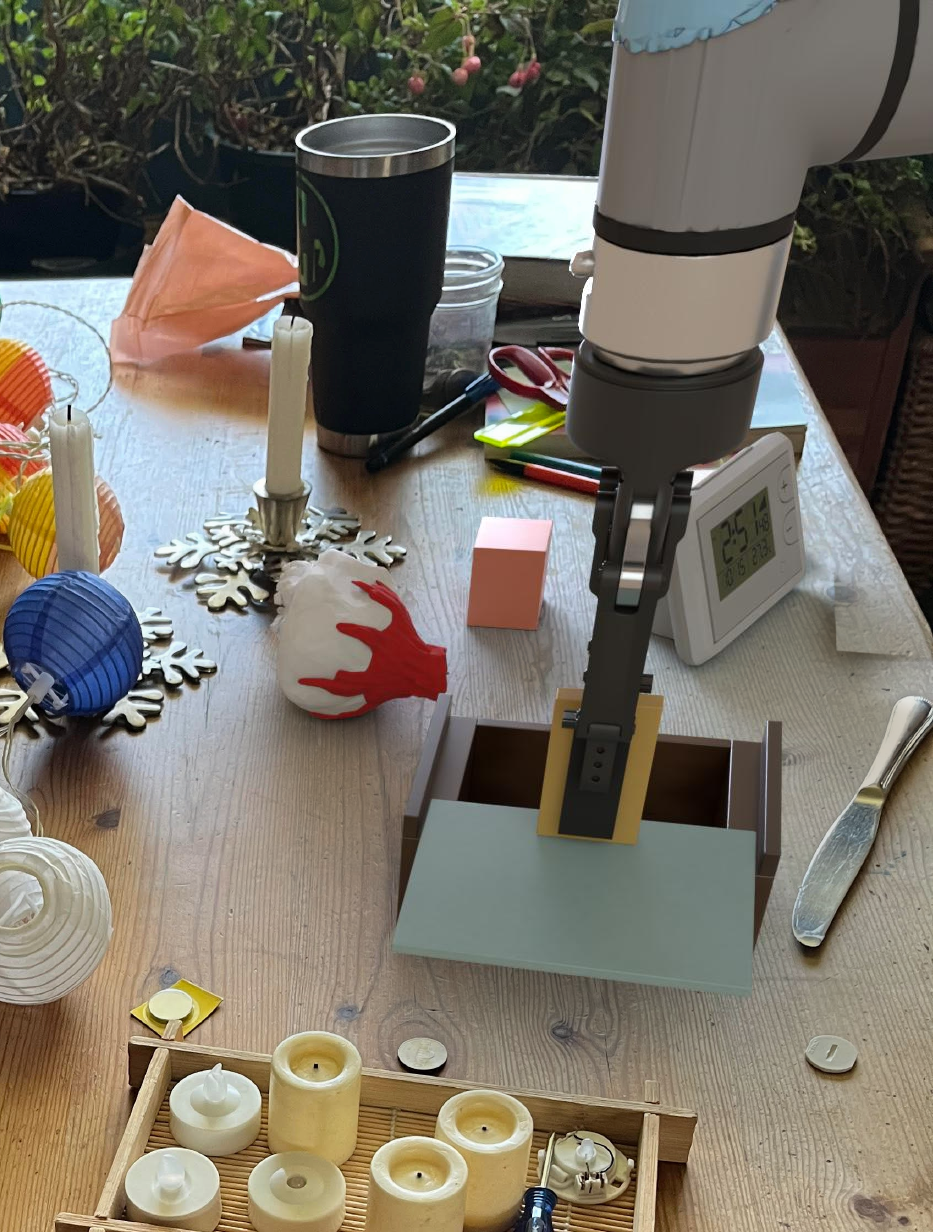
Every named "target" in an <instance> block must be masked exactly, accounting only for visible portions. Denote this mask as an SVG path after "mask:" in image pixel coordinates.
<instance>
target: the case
mask: <svg viewBox="0 0 933 1232" xmlns="http://www.w3.org/2000/svg"><path fill="white" fill-rule="evenodd" d="M453 696H454V695H453V694H452V693H445V694H444V693H439V695H438V699H437V702H436V701H435V706H434V709H433V713H432V716H431V719H430V723H429V726H428V730H427V733H426V736H425V741H424V743H423V747H422V750H421V753H420V757H419V761H418V764H417V767H416V771H415V774H414V778H413V782H412V785H411V788H410V792H409V795H408V799H407V802H406V804H405V805H406V806H405V809H404V813H403V817H402V818H403V819H402V830H401V831H402V832H401V847H400V859H399V862H400V863H399V876H398V889H397V891H398V892H397V903H396V905H397V906H396V918H395V919H396V921H395V926H396V925H397V921H398V918H399V914H400V911H401V907H402V903H403V900H404V896H405V892H406V889H407V885H408V881H409V878H410V874H411V870H412V867H413V863H414V859H415V856H416V852H417V848H418V845H419V841H420V837H421V834H422V830H423V826H424V823H425V819H426V816H427V812H428V808H429V805H430V801H431V799H438V800H447V801H457V802H467V803H477V804H487V805H497V806H507V807H517V808H527V809H537V810H540V803H541V796H542V789H543V782H544V775H545V768H546V761H547V754H548V747H549V740H550V733H551V726H552V723H544V722H543V723H542V722H532V721H522V720H509V719H498V718H486V717H474V716H463V715H462V716H461V715H453V714H452V707H453ZM764 727H765V728H764V731H763V736H762V739H761V741H750V740H749V741H748V740H738V739H732V740H731V739H728V738H717V737H704V736H695V735H694V736H693V735H682V734H671V733H670V734H669V733H659V732H658V736H657V741H656V746H655V751H654V756H653V761H652V766H651V771H650V776H649V781H648V786H647V791H646V796H645V801H644V807H643V812H642V817H641V820H646V821H655V822H665V823H675V824H685V825H695V826H705V827H715V828H725V829H735V830H745V831H754V832H756V861H755V897H754V933H753V954H754V953H755V949H756V946H757V942H758V939H759V936H760V932H761V928H762V925H763V922H764V917H765V914H766V910H767V907H768V903H769V899H770V896H771V894H772V893H771V892H772V889H773V885H774V881H775V879H776V878H775V877H776V874H777V872H778V868H779V864H780V861H781V857H782V812H783V811H782V810H783V809H782V805H783V803H782V800H783V799H782V797H783V795H782V794H783V792H782V791H783V721H780V720H766V724H765V726H764Z"/></svg>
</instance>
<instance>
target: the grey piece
mask: <svg viewBox="0 0 933 1232" xmlns="http://www.w3.org/2000/svg"><path fill="white" fill-rule="evenodd" d="M583 691H584V688H577V687H576V688H575V687H574V688H573V687H563V686H558V687H557V689H556V693H555V699H554V705H553V713H552V718H551V719H552V720H551V724H552V726H551V733H550V740H549V747H548V754H547V761H546V768H545V775H544V782H543V789H542V796H541V803H540V810H537V809H527V808H517V807H507V806H497V805H487V804H477V803H467V802H457V801H447V800H438V799H431V801H430V805H429V808H428V812H427V816H426V819H425V823H424V826H423V830H422V834H421V837H420V841H419V845H418V848H417V852H416V856H415V859H414V863H413V867H412V870H411V874H410V878H409V881H408V885H407V889H406V892H405V896H404V900H403V903H402V907H401V911H400V914H399V918H398V921H397V925H396V924H395V929H394V933H393V936H392V940H391V946H390V952H391V953H395V954H402V955H411V956H418V957H425V958H435V959H442V960H450V961H457V962H465V963H474V964H481V965H489V966H496V967H506V968H513V969H520V970H526V971H527V970H528V971H536V972H545V973H552V974H559V975H560V974H561V975H568V976H574V977H575V976H576V977H583V978H590V979H591V978H592V979H598V980H607V981H615V982H622V983H631V984H637V985H646V986H654V987H662V988H669V989H676V990H677V989H678V990H684V991H685V990H686V991H693V992H700V993H709V994H715V995H723V996H733V997H739V998H740V997H741V998H747V999H749V998H750V997H751V994H752V990H753V965H754V953H753V933H754V897H755V861H756V832H754V831H745V830H735V829H725V828H715V827H705V826H695V825H685V824H675V823H665V822H655V821H646V820H641V817H642V812H643V807H644V801H645V796H646V791H647V786H648V781H649V776H650V771H651V766H652V761H653V756H654V751H655V746H656V741H657V736H658V733H659V730H660V725H661V720H662V715H663V710H664V701H665V696H664V695H661V694H652V693H651V694H648V693H639V697H638V703H637V708H636V713H635V716H636V720H635V724H636V729H635V734H634V735H632V740H631V743H630V748H629V754H628V759H627V764H626V770H625V775H624V780H623V786H622V791H621V796H620V801H619V807H618V812H617V817H616V823H615V828H614V833H613V838H612V840H609V839H600V838H590V837H581V836H572V835H562V834H558V829H559V822H560V816H561V810H562V803H563V797H564V791H565V784H566V778H567V772H568V765H569V759H570V753H571V746H572V740H573V734H574V729H567V728H561V726H562V720H563V714H564V709H565V710H577V711H579V709H580V710H581V704H582V698H583Z"/></svg>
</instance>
